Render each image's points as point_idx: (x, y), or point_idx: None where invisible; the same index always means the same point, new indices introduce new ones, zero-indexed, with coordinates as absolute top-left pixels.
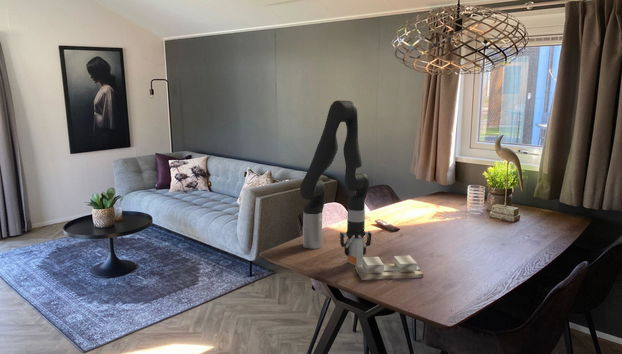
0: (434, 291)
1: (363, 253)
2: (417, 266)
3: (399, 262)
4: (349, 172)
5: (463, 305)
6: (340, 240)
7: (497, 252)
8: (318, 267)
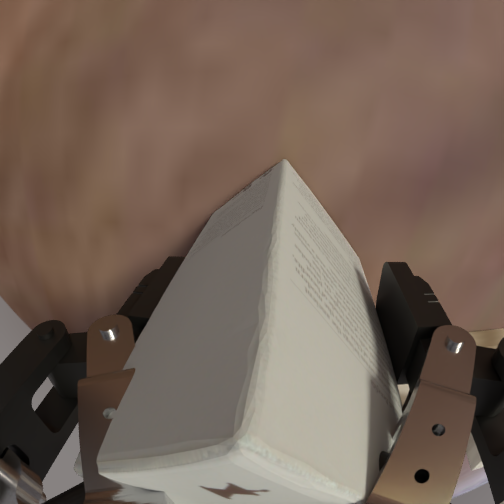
0: (463, 468)
1: (384, 326)
2: None
3: (481, 461)
4: None
5: (459, 491)
6: (6, 385)
7: None
8: (36, 280)
